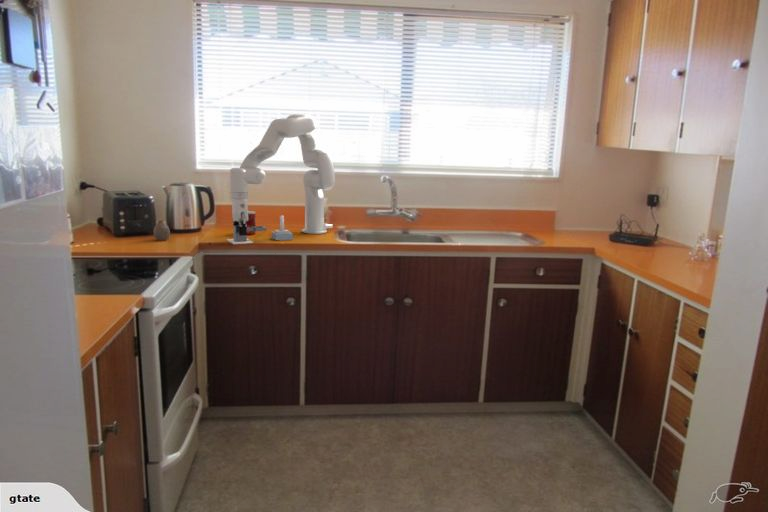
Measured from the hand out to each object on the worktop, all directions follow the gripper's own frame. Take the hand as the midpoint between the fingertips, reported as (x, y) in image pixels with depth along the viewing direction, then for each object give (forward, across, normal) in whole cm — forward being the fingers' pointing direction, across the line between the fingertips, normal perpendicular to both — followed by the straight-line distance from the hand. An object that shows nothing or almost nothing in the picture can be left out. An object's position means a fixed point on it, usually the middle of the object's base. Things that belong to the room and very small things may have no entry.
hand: (239, 233), depth 251 cm
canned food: (+4, +19, -9) cm, 21 cm away
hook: (+3, 0, -5) cm, 6 cm away
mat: (+4, 0, 0) cm, 4 cm away
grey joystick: (+4, 0, -20) cm, 20 cm away
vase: (+4, +16, +31) cm, 35 cm away
